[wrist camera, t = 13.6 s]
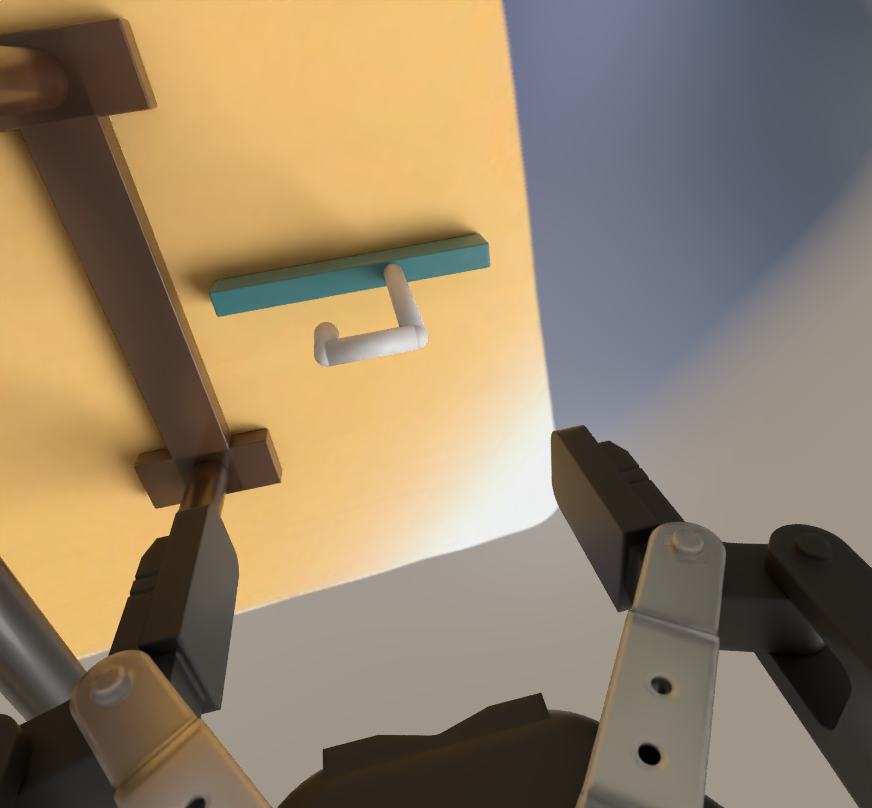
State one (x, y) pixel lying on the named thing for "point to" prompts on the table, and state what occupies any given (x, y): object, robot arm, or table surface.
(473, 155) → the table surface
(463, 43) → the table surface
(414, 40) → the table surface
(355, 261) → the hanger
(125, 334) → the stand
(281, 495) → the table surface
